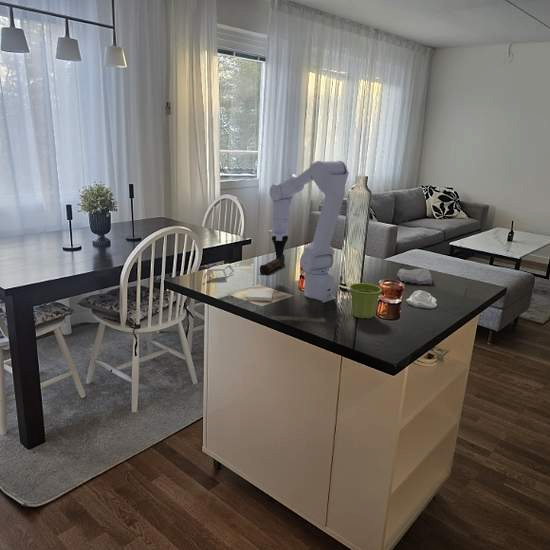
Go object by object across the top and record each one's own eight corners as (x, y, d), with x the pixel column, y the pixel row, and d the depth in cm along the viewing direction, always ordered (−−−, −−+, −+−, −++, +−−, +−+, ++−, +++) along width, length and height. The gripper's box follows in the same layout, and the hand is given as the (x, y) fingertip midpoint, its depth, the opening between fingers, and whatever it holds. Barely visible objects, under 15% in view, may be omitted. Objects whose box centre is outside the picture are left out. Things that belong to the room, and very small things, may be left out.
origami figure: (222, 286, 167) (222, 272, 166) (202, 282, 171) (202, 268, 170) (240, 277, 178) (240, 265, 176) (221, 274, 181) (221, 261, 180)
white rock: (424, 285, 161) (445, 293, 153) (422, 297, 162) (444, 307, 154) (400, 288, 157) (421, 297, 148) (399, 301, 158) (420, 311, 150)
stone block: (433, 290, 177) (427, 277, 185) (434, 278, 174) (429, 266, 183) (400, 289, 178) (396, 276, 186) (401, 278, 175) (397, 265, 184)
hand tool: (268, 276, 182) (268, 264, 180) (259, 274, 184) (259, 262, 182) (290, 265, 198) (290, 254, 197) (281, 263, 200) (281, 252, 198)
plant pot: (357, 307, 150) (359, 281, 148) (384, 315, 145) (387, 287, 142) (341, 315, 143) (343, 287, 141) (369, 323, 138) (372, 295, 135)
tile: (273, 289, 157) (271, 297, 150) (273, 293, 158) (271, 301, 150) (248, 288, 158) (246, 296, 150) (248, 292, 158) (245, 300, 150)
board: (293, 298, 157) (293, 295, 156) (261, 309, 146) (261, 306, 146) (258, 287, 167) (258, 284, 167) (226, 296, 157) (226, 293, 156)
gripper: (270, 214, 175) (269, 251, 179) (267, 221, 161) (266, 261, 165) (289, 215, 175) (288, 252, 178) (288, 222, 161) (287, 261, 164)
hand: (279, 256), depth 172 cm, fingers closed
